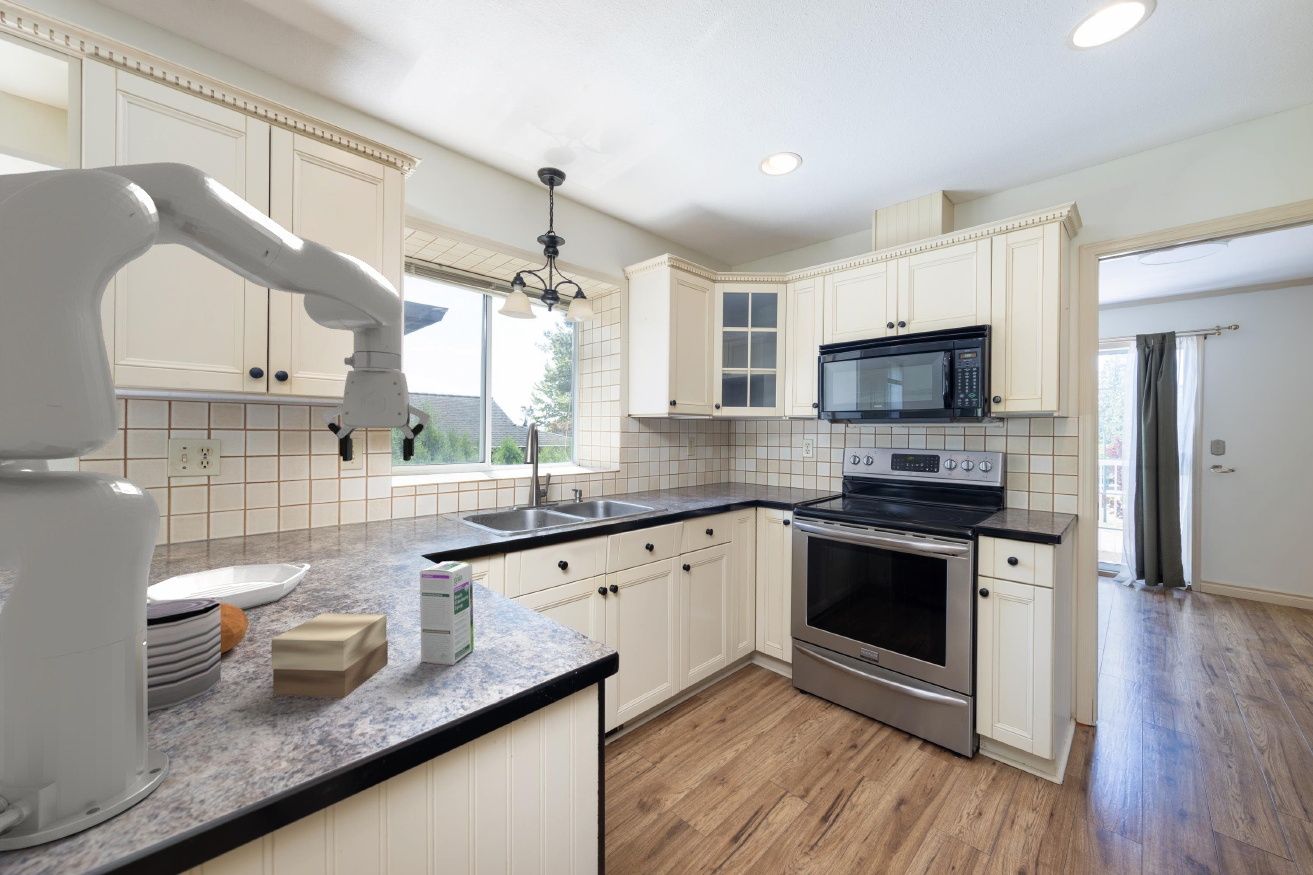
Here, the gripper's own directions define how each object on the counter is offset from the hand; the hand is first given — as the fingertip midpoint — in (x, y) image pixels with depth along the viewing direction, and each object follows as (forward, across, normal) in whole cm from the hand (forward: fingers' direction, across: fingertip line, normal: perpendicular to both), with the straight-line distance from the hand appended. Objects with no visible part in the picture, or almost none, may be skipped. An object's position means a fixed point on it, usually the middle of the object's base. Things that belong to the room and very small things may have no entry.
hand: (377, 460), depth 92 cm
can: (+31, -22, -17) cm, 41 cm away
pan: (+31, -35, +27) cm, 54 cm away
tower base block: (+31, -1, -18) cm, 36 cm away
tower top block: (+27, -1, -18) cm, 33 cm away
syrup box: (+31, +14, -15) cm, 37 cm away
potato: (+31, -23, -4) cm, 39 cm away
